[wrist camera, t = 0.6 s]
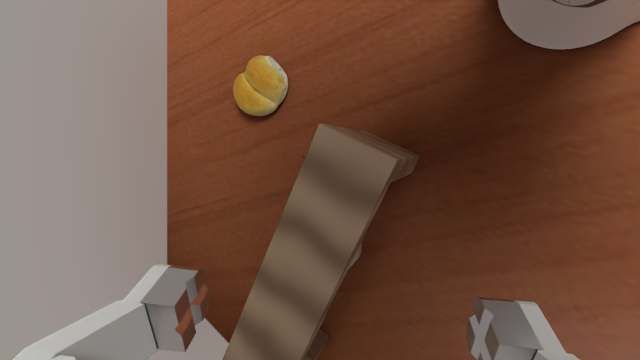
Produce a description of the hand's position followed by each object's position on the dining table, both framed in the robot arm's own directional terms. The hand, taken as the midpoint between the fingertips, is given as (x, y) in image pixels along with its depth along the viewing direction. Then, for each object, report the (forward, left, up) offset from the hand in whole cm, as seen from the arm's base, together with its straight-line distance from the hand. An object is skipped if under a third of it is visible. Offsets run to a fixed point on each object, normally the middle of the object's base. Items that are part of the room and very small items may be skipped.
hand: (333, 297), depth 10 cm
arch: (+14, -7, -36) cm, 40 cm away
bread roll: (-2, -29, -37) cm, 47 cm away
